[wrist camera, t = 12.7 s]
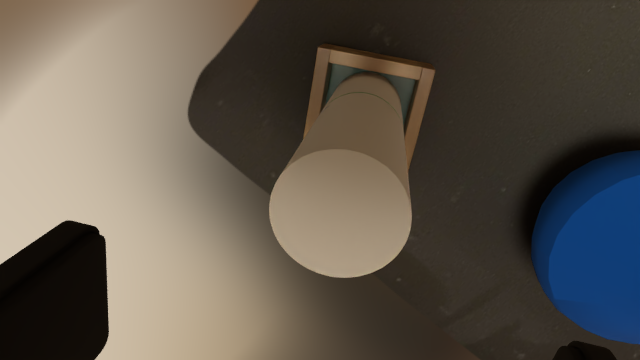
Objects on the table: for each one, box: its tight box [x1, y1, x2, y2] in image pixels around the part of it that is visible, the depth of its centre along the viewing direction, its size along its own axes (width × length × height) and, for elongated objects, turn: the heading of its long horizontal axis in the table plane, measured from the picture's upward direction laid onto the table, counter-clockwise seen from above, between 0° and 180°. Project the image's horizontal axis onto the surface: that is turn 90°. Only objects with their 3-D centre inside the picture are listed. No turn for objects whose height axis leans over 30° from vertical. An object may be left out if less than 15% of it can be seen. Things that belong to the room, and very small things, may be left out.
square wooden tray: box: [303, 43, 435, 170], centre depth 43 cm, size 11×11×4 cm
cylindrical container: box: [269, 72, 412, 278], centre depth 33 cm, size 7×7×25 cm
